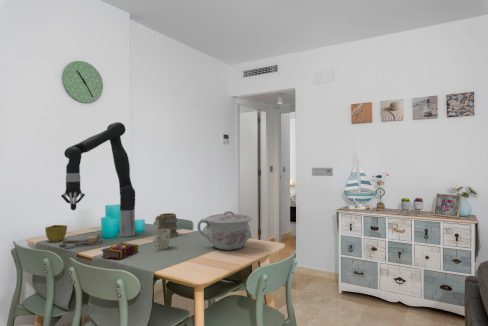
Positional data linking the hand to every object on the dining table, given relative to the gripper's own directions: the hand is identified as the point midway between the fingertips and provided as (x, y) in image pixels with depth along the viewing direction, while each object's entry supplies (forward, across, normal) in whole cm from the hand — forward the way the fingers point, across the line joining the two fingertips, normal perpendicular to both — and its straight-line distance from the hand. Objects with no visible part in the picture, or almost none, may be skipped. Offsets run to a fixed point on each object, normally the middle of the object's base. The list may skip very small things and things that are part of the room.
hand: (73, 210), depth 189 cm
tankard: (+21, -53, -3) cm, 57 cm away
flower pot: (+21, +12, -14) cm, 28 cm away
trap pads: (+21, -1, 0) cm, 21 cm away
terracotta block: (+21, -10, 0) cm, 23 cm away
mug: (+21, -48, +27) cm, 59 cm away
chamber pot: (+21, -85, +36) cm, 95 cm away
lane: (+21, -4, 0) cm, 21 cm away
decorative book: (+21, -26, +32) cm, 47 cm away
